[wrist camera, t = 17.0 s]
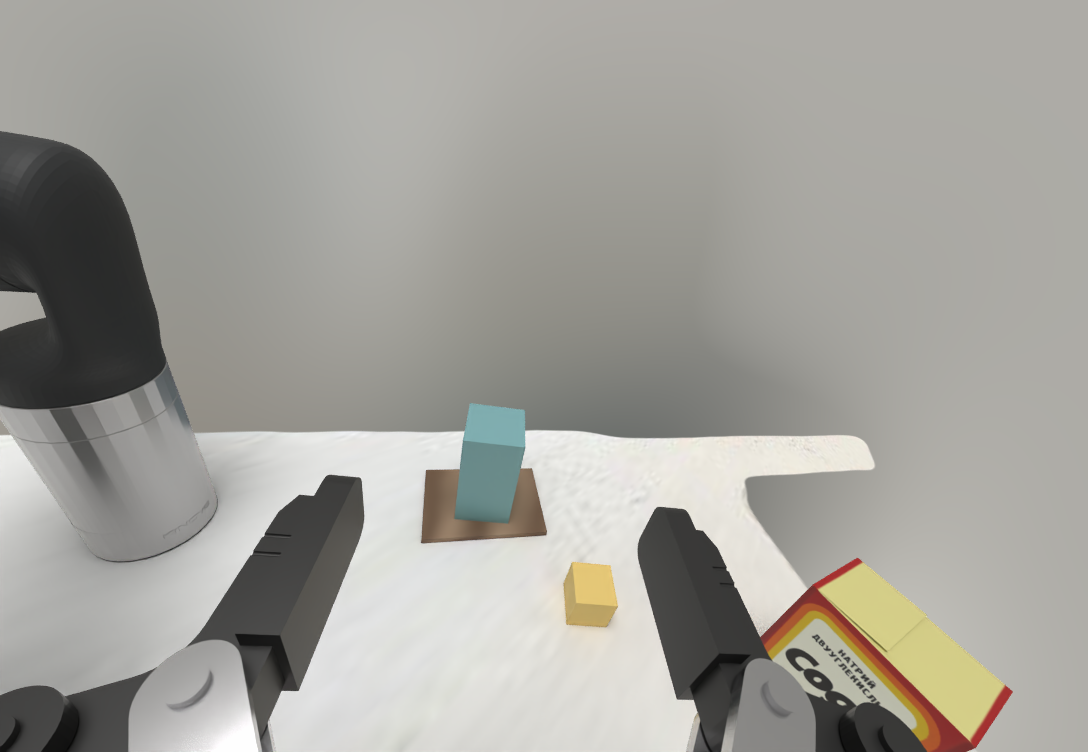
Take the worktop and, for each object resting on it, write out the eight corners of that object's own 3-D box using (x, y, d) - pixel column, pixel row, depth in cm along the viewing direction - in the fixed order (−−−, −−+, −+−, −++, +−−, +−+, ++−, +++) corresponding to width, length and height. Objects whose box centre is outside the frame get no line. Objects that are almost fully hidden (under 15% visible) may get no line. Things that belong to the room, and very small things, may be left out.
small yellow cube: (566, 624, 37) (576, 603, 35) (563, 584, 40) (572, 561, 38) (605, 627, 38) (617, 606, 36) (599, 587, 41) (610, 565, 39)
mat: (421, 543, 41) (421, 539, 41) (425, 473, 49) (426, 470, 49) (545, 535, 45) (546, 531, 45) (531, 471, 53) (531, 468, 53)
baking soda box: (858, 769, 32) (1017, 689, 24) (816, 817, 29) (981, 745, 21) (763, 648, 39) (860, 554, 30) (720, 677, 36) (815, 581, 27)
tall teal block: (454, 519, 44) (462, 440, 38) (461, 478, 49) (470, 403, 43) (508, 523, 45) (525, 447, 38) (509, 482, 50) (524, 410, 44)
